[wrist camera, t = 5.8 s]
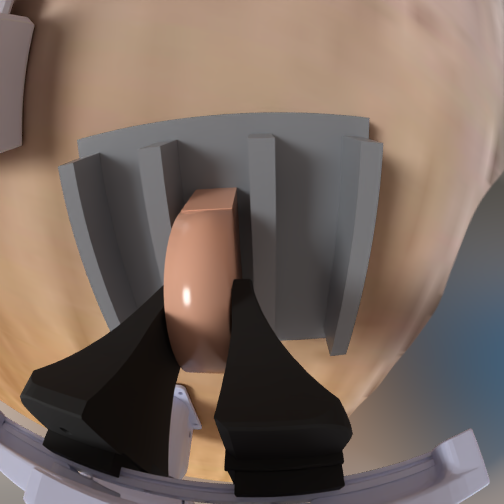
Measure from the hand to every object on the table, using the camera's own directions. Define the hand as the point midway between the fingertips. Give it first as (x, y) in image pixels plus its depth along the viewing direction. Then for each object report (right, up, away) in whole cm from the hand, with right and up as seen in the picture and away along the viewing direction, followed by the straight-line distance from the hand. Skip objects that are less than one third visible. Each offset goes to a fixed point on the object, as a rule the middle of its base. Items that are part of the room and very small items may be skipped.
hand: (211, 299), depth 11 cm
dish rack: (0, +2, +5) cm, 5 cm away
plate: (0, +2, +4) cm, 4 cm away
